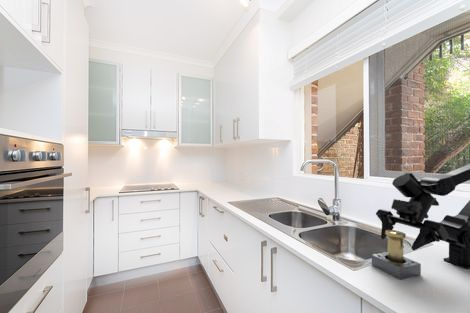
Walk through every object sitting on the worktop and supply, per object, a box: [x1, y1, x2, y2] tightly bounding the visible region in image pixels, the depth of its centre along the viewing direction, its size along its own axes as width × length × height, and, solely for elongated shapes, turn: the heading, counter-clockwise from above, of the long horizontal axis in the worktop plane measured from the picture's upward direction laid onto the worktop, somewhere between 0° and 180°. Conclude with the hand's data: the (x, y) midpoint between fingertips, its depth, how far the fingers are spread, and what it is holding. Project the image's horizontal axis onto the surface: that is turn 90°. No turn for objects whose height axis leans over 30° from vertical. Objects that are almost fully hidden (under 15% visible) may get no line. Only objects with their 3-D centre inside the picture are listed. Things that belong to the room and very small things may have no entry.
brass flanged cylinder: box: [385, 229, 407, 263], centre depth 68 cm, size 5×5×12 cm
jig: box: [371, 251, 422, 281], centre depth 68 cm, size 9×9×4 cm
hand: (396, 243), depth 68 cm, fingers open, 9 cm apart
